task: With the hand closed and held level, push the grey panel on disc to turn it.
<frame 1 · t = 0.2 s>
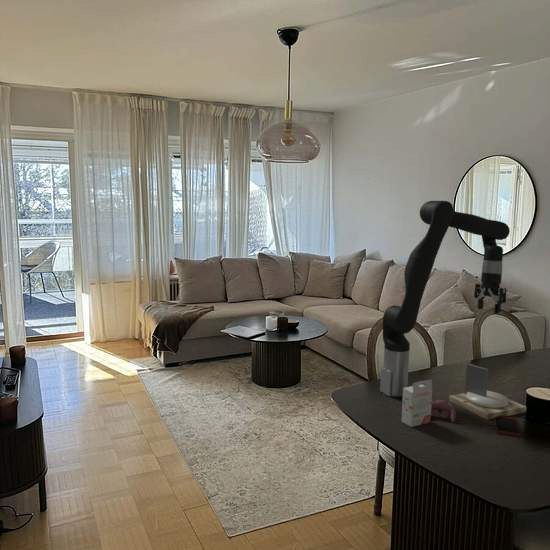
hand: (488, 311, 210), 29 cm above the table, tool pointing down, fingers open, 8 cm apart
dial base: (486, 406, 185), on the table
ink cartridge box: (415, 422, 170), on the table
smartphone: (506, 428, 168), on the table
video game controller: (439, 418, 174), on the table
grey panel on disc: (486, 384, 184), point 8 cm above the table, hinge at 0.0°
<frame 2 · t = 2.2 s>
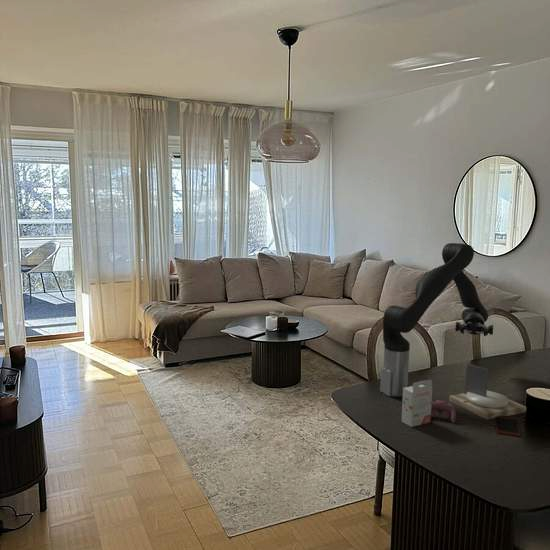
hand: (473, 332, 194), 24 cm above the table, tool horizontal, fingers open, 7 cm apart
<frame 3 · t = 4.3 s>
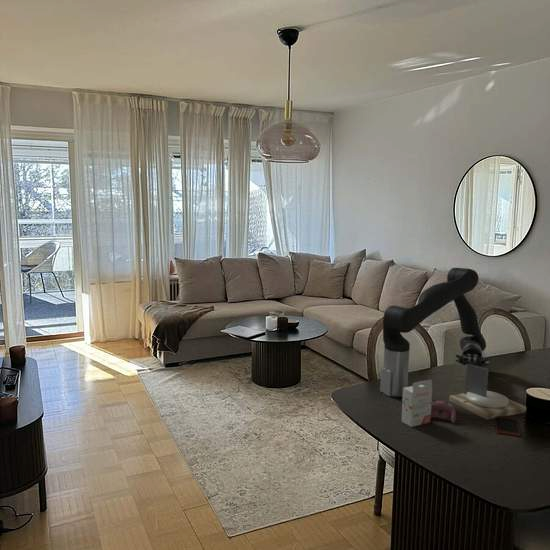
hand: (471, 366, 195), 11 cm above the table, tool horizontal, fingers closed
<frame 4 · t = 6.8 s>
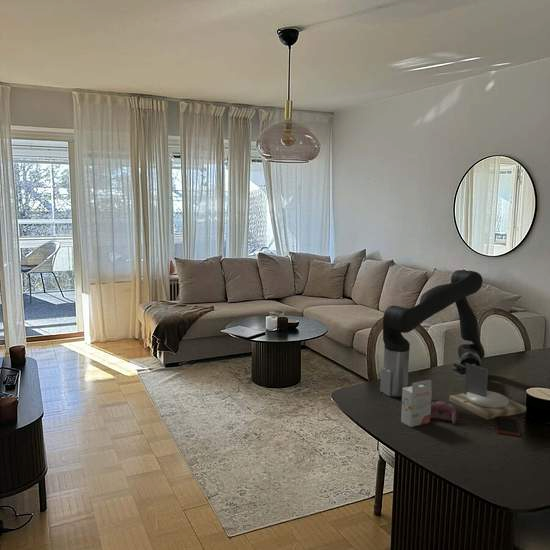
hand: (469, 376, 190), 9 cm above the table, tool horizontal, fingers closed
grey panel on disc: (486, 384, 184), point 8 cm above the table, hinge at 2.7°, touching gripper
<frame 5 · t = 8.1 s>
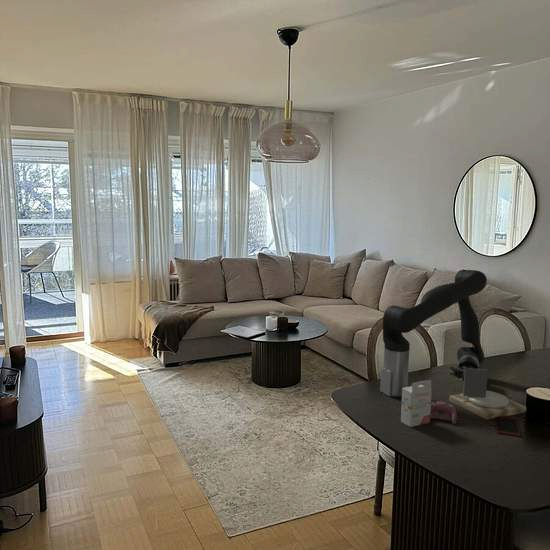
hand: (466, 379, 185), 9 cm above the table, tool horizontal, fingers closed
grey panel on disc: (486, 385, 184), point 8 cm above the table, hinge at 42.7°, touching gripper
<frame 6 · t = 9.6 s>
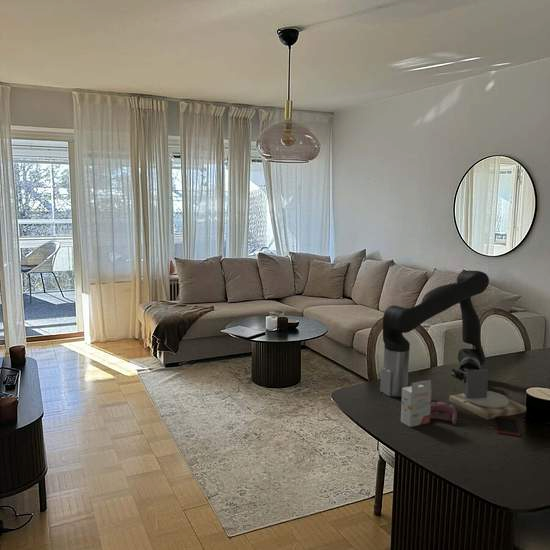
hand: (468, 382, 183), 9 cm above the table, tool horizontal, fingers closed
grey panel on disc: (486, 385, 183), point 8 cm above the table, hinge at 61.4°, touching gripper
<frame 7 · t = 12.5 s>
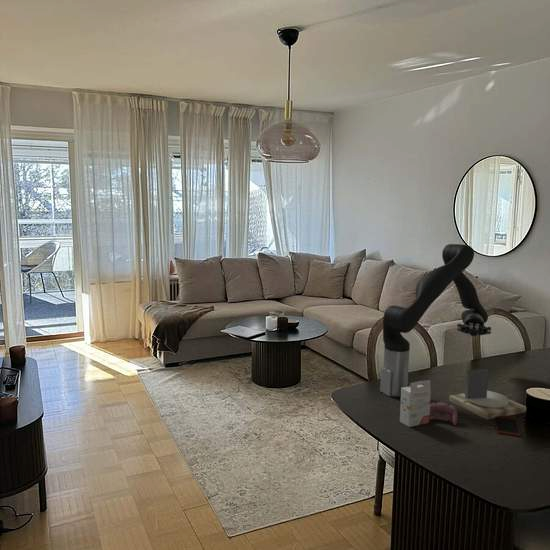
hand: (473, 333, 193), 24 cm above the table, tool horizontal, fingers closed
grey panel on disc: (486, 385, 183), point 8 cm above the table, hinge at 61.4°
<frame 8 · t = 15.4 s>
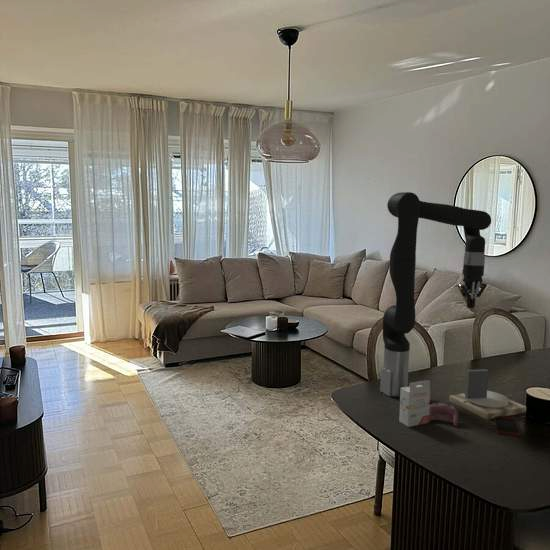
hand: (470, 308, 199), 32 cm above the table, tool pointing down, fingers closed
at the end: grey panel on disc at +61° (first picture: +0°) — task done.
